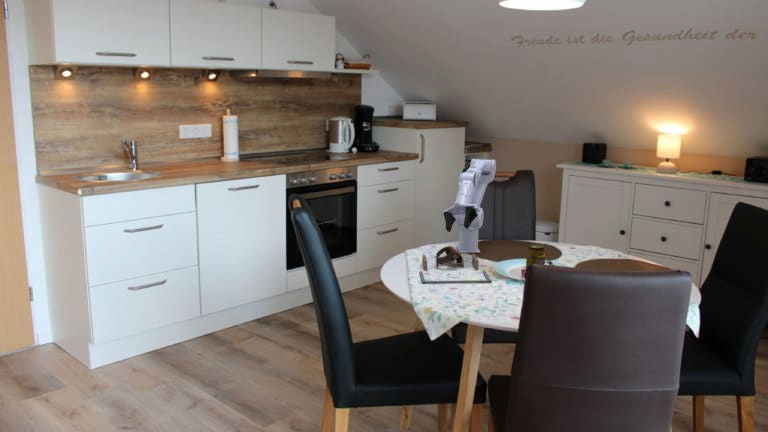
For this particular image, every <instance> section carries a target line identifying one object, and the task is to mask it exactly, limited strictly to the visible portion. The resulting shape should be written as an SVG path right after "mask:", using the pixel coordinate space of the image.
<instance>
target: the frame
mask: <svg viewBox="0 0 768 432" xmlns="http://www.w3.org/2000/svg"><path fill="white" fill-rule="evenodd" d="M482 274H483V275H484V278H485V279H486V280H485V279H484V280H483V279H481V280H480V279H479V280H476V279H475V280H471V279H470V280H469V279H467V280H426V279H425V275H424V273H423V271H422V270H420V271H419V276H420V280H421V284H423V285H426V284H427V285H429V284H430V285H431V284H492V283H493V281H492V279H491V277H490V275H488V272H487V271H486V270H482Z"/></svg>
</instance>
